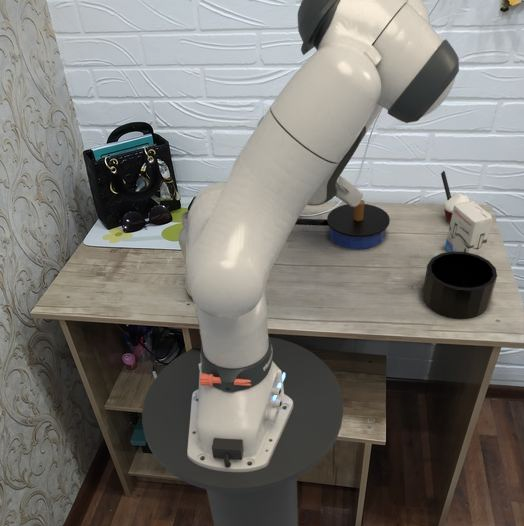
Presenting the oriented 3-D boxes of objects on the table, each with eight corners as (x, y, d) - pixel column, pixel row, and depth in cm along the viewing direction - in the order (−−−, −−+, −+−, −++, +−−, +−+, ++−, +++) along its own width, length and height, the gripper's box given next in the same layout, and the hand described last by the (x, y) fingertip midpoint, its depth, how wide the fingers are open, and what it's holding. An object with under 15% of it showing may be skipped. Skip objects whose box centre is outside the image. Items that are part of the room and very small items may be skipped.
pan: (384, 250, 137) (385, 236, 134) (327, 248, 139) (327, 234, 136) (384, 221, 147) (386, 207, 144) (331, 219, 149) (332, 205, 146)
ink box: (443, 248, 136) (452, 203, 128) (462, 243, 137) (471, 199, 129) (464, 267, 130) (474, 221, 122) (483, 262, 131) (494, 216, 123)
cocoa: (476, 223, 144) (486, 179, 135) (458, 231, 141) (467, 186, 133) (448, 208, 150) (457, 165, 141) (431, 216, 147) (438, 172, 139)
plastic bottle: (193, 284, 131) (180, 205, 117) (221, 288, 129) (211, 208, 116) (183, 301, 126) (168, 221, 113) (211, 305, 125) (200, 225, 111)
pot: (492, 321, 116) (500, 291, 111) (423, 316, 118) (428, 287, 113) (484, 281, 126) (492, 253, 121) (421, 278, 128) (426, 249, 123)
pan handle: (332, 227, 142) (333, 221, 141) (290, 225, 143) (290, 220, 142) (333, 224, 143) (333, 218, 142) (291, 222, 144) (291, 216, 143)
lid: (389, 240, 134) (391, 219, 130) (324, 237, 136) (324, 217, 132) (389, 208, 145) (391, 187, 141) (329, 206, 147) (330, 186, 143)
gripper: (348, 170, 116) (381, 200, 126) (293, 138, 129) (327, 167, 139) (329, 197, 117) (364, 224, 127) (277, 162, 130) (311, 189, 140)
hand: (344, 194), depth 133 cm, fingers open, 8 cm apart
